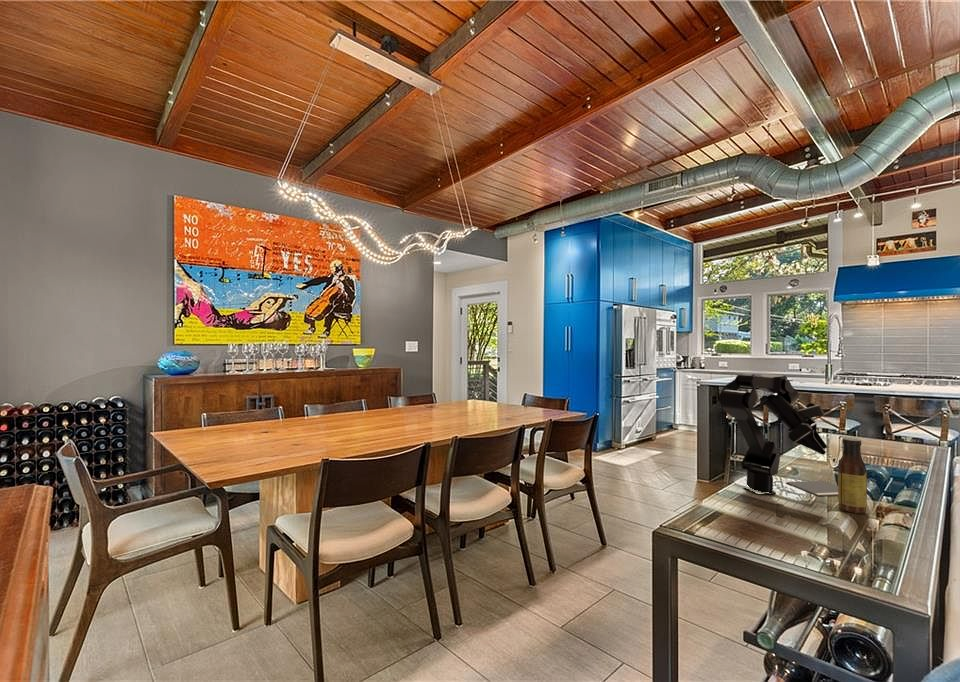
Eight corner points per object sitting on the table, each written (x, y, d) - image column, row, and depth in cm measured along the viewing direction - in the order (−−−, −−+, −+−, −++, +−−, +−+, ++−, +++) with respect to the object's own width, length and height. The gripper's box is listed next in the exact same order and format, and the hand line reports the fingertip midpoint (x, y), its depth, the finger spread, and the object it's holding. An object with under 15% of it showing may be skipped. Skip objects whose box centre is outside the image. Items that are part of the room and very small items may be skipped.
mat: (818, 496, 137) (818, 494, 137) (786, 483, 149) (786, 481, 149) (858, 494, 139) (858, 493, 139) (823, 481, 151) (823, 480, 151)
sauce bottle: (872, 514, 123) (874, 442, 123) (849, 514, 123) (851, 442, 123) (853, 505, 130) (855, 437, 129) (831, 505, 130) (833, 436, 129)
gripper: (802, 397, 134) (849, 440, 127) (808, 392, 148) (850, 430, 142) (770, 420, 139) (814, 462, 132) (778, 412, 154) (818, 450, 147)
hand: (825, 450), depth 138 cm, fingers open, 9 cm apart
